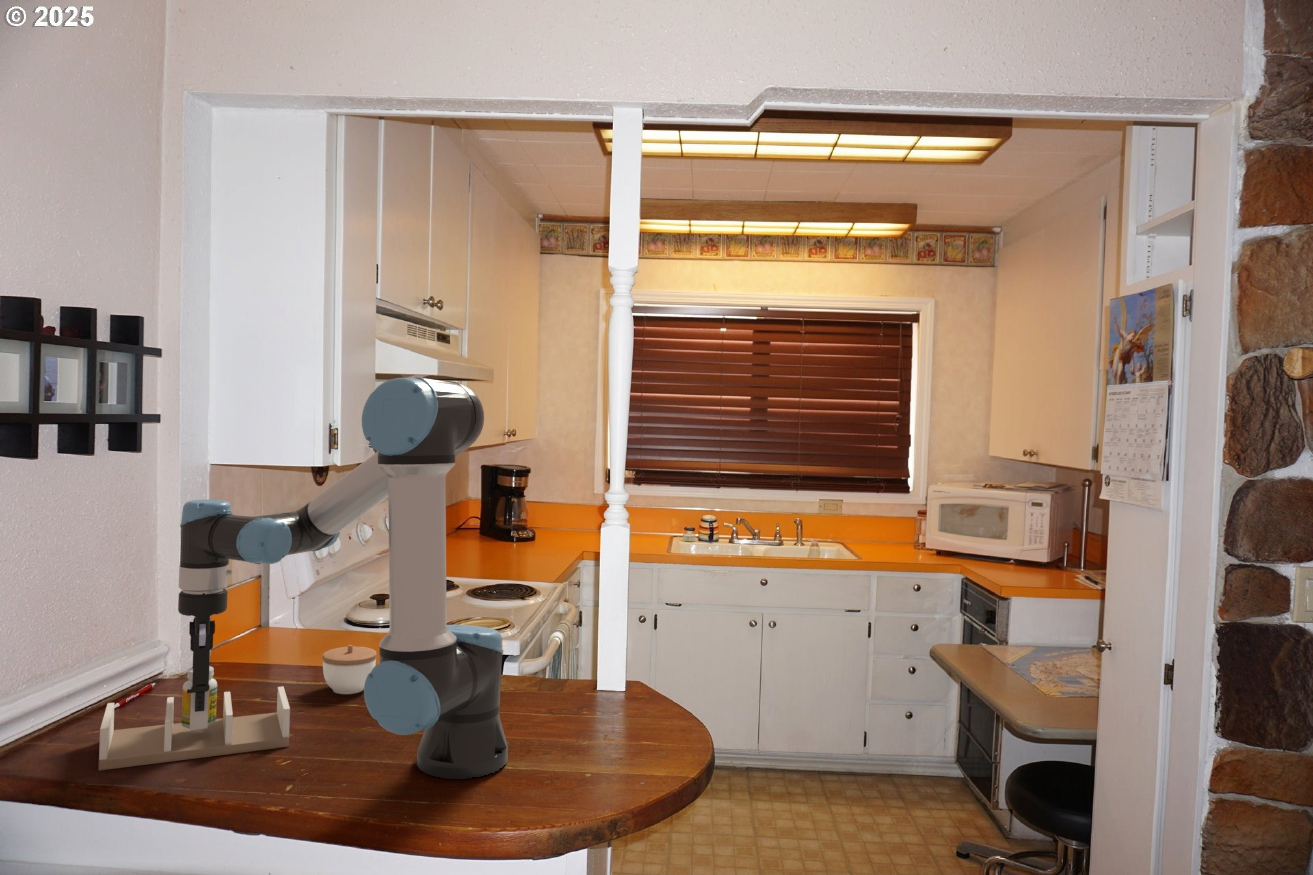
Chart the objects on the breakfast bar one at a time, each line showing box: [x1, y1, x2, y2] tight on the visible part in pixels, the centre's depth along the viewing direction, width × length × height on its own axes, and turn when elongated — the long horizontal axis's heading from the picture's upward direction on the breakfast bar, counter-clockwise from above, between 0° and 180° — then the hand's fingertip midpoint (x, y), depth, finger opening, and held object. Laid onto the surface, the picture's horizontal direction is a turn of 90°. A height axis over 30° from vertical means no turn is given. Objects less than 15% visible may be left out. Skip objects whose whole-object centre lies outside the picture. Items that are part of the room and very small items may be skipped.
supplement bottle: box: [180, 665, 218, 728], centre depth 150 cm, size 5×5×10 cm
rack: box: [98, 686, 291, 771], centre depth 150 cm, size 14×28×6 cm, turn 118°
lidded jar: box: [322, 644, 378, 695], centre depth 182 cm, size 11×11×9 cm
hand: (198, 722), depth 150 cm, fingers closed on supplement bottle, 5 cm apart
